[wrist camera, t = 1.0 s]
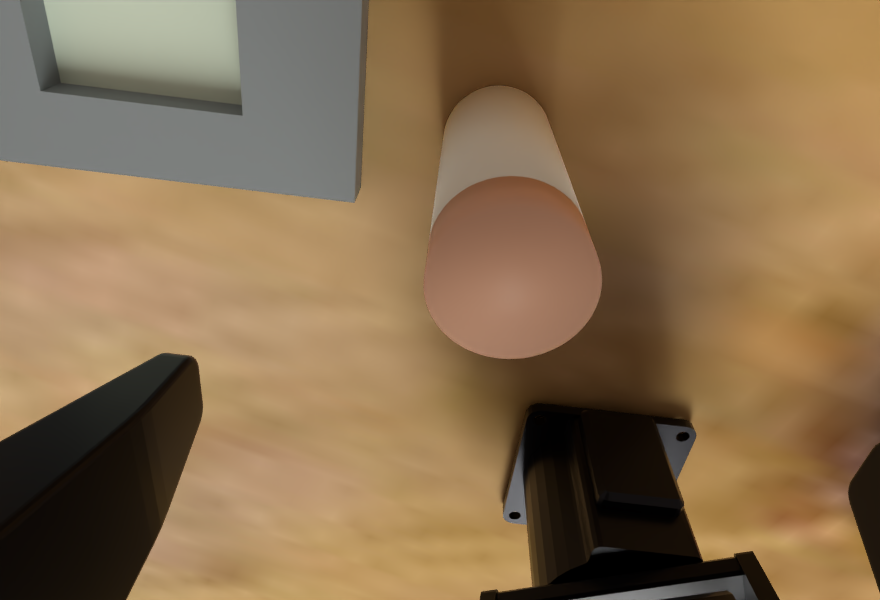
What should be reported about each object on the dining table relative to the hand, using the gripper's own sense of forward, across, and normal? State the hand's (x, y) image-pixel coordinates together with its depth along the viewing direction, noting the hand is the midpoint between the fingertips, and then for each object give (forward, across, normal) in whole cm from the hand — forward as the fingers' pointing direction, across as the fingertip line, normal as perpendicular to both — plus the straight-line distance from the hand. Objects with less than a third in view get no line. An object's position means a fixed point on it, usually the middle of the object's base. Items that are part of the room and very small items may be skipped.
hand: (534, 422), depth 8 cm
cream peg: (+12, 0, 0) cm, 12 cm away
